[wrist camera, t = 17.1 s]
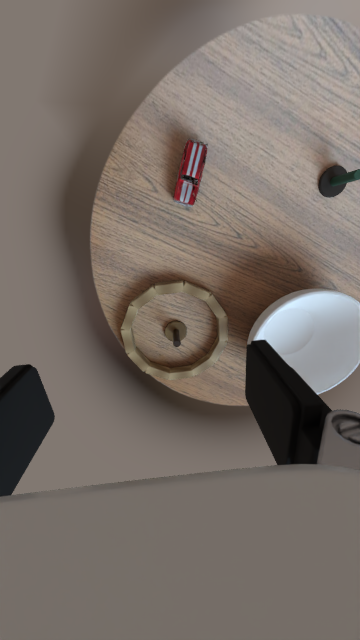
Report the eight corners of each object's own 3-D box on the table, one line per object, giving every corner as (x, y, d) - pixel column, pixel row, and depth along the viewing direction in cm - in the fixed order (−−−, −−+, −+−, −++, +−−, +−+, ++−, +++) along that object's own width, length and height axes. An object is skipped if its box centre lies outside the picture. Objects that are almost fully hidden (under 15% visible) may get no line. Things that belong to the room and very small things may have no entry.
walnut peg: (166, 341, 42) (166, 355, 37) (163, 322, 40) (163, 334, 36) (187, 339, 42) (190, 352, 37) (185, 319, 40) (188, 331, 36)
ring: (134, 379, 44) (133, 384, 43) (113, 288, 37) (111, 291, 36) (227, 367, 45) (229, 372, 43) (223, 274, 38) (226, 276, 36)
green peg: (317, 198, 34) (340, 194, 29) (320, 168, 32) (346, 157, 28) (342, 195, 34) (370, 190, 29) (347, 164, 32) (377, 153, 28)
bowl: (356, 331, 43) (391, 349, 37) (273, 390, 47) (291, 416, 41) (305, 255, 37) (335, 261, 30) (215, 330, 41) (224, 349, 35)
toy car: (171, 202, 33) (171, 199, 30) (185, 138, 30) (187, 128, 27) (194, 209, 34) (197, 207, 31) (210, 147, 31) (215, 138, 28)
